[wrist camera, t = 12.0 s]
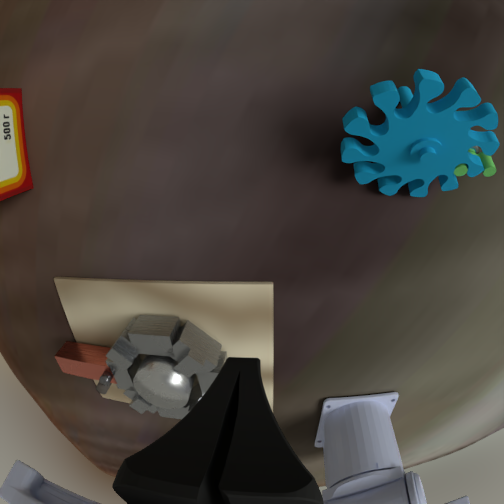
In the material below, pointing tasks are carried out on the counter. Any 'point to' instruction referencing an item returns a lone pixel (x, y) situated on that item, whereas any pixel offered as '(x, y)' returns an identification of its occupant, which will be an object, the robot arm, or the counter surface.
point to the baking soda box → (13, 145)
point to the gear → (421, 136)
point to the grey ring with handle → (152, 343)
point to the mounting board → (173, 304)
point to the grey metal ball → (162, 382)
